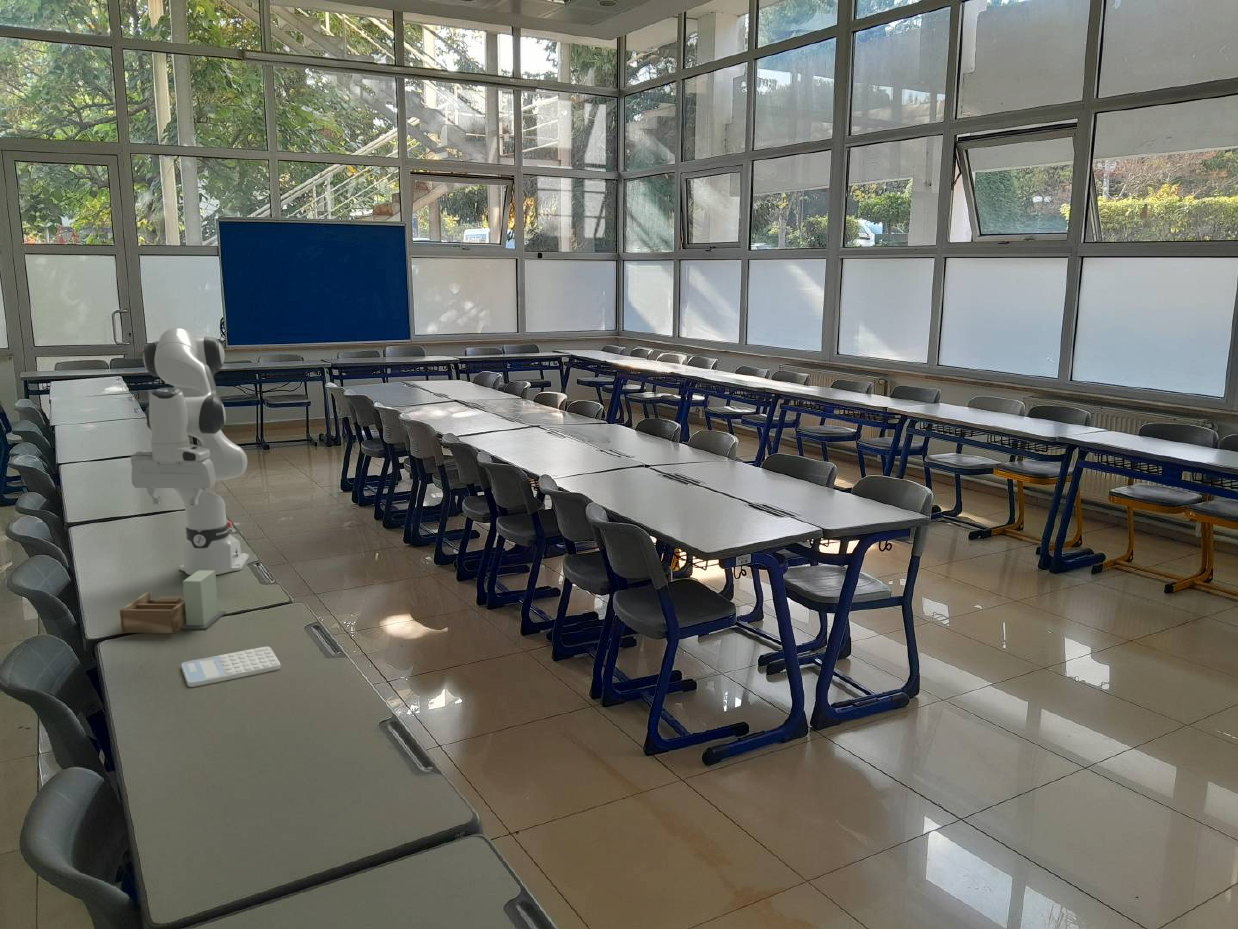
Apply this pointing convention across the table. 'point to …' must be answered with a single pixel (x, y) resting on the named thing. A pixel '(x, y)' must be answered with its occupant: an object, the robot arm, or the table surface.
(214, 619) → the mat
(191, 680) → the calculator
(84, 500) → the table surface
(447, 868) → the table surface
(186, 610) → the sage green thick block
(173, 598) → the offcut upper
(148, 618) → the rack
